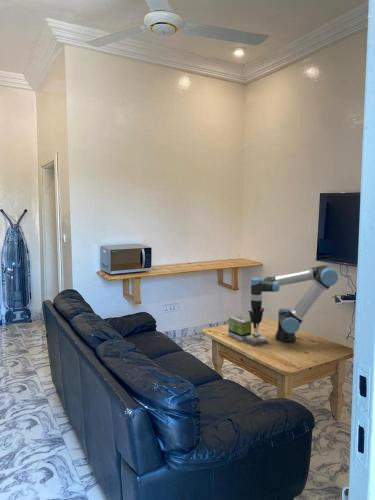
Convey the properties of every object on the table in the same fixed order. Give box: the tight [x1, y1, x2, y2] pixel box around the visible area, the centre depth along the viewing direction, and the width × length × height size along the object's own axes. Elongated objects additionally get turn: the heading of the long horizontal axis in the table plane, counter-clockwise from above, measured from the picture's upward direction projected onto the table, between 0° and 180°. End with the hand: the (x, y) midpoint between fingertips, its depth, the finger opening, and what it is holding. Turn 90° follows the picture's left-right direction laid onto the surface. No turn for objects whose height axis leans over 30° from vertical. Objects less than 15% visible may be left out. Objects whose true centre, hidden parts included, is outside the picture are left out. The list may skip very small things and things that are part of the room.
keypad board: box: [242, 338, 269, 347], centre depth 281 cm, size 13×12×2 cm
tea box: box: [227, 315, 252, 342], centre depth 290 cm, size 15×10×15 cm, turn 37°
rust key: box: [251, 338, 259, 343], centre depth 277 cm, size 4×4×4 cm
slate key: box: [251, 332, 262, 338], centre depth 284 cm, size 4×4×4 cm
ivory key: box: [257, 336, 267, 342], centre depth 280 cm, size 4×4×4 cm
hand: (256, 332), depth 276 cm, fingers closed
